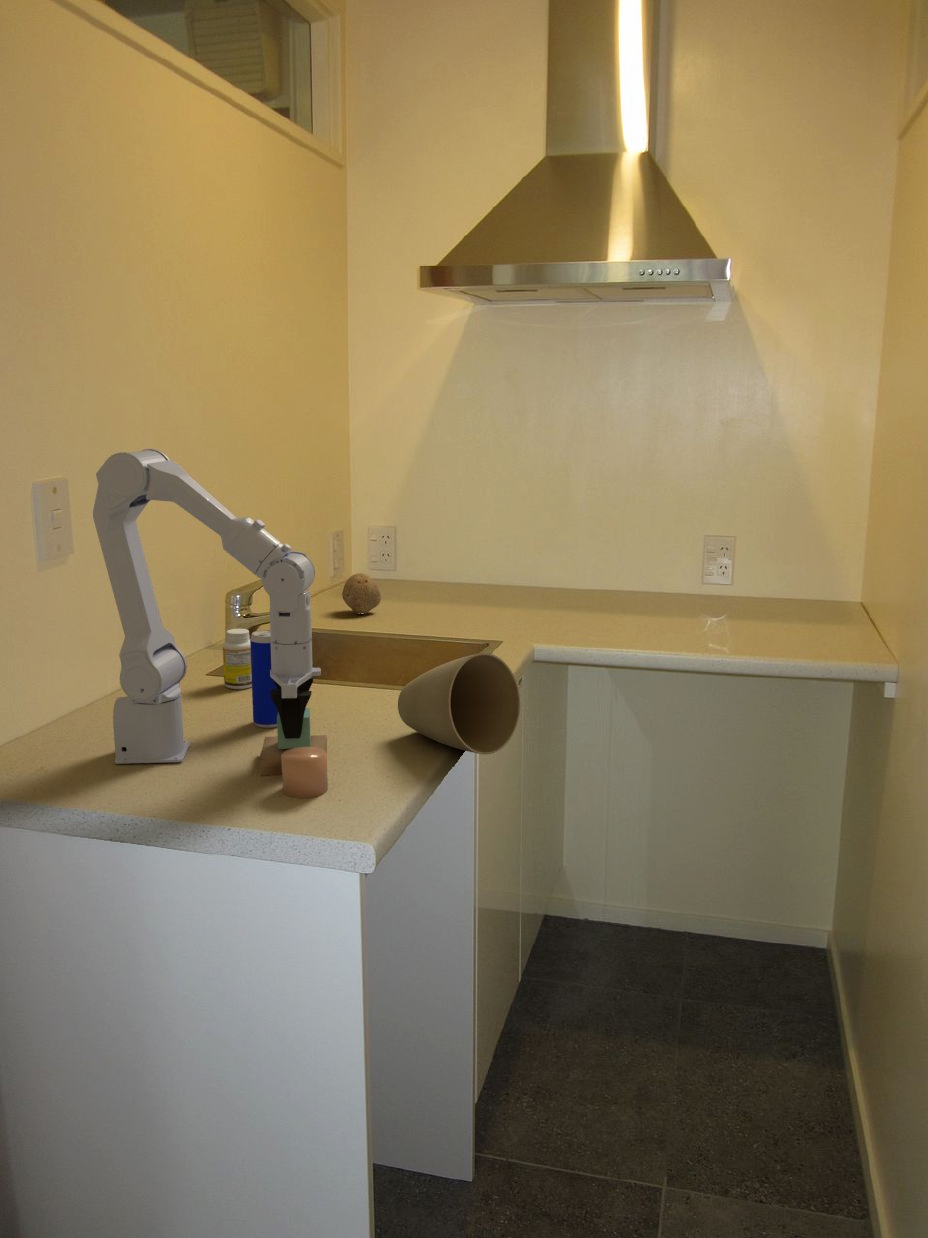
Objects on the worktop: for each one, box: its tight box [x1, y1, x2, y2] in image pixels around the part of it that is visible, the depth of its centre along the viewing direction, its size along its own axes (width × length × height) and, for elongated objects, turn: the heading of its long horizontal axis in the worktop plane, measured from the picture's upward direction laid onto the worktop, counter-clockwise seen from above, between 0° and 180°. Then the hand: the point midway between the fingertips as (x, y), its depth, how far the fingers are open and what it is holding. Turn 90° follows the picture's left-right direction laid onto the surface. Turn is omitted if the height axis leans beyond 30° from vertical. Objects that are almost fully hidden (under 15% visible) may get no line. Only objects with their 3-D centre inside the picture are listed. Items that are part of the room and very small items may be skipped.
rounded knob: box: [281, 747, 329, 799], centre depth 136 cm, size 6×6×5 cm
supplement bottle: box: [222, 628, 252, 690], centre depth 182 cm, size 6×6×10 cm
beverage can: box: [249, 629, 278, 729], centre depth 161 cm, size 5×5×15 cm
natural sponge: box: [341, 572, 382, 614], centre depth 241 cm, size 9×9×10 cm
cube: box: [276, 707, 312, 749], centre depth 145 cm, size 4×4×4 cm
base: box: [259, 734, 328, 776], centre depth 145 cm, size 9×9×2 cm
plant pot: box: [397, 652, 521, 755], centre depth 154 cm, size 15×15×16 cm
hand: (293, 731), depth 145 cm, fingers closed on cube, 4 cm apart
